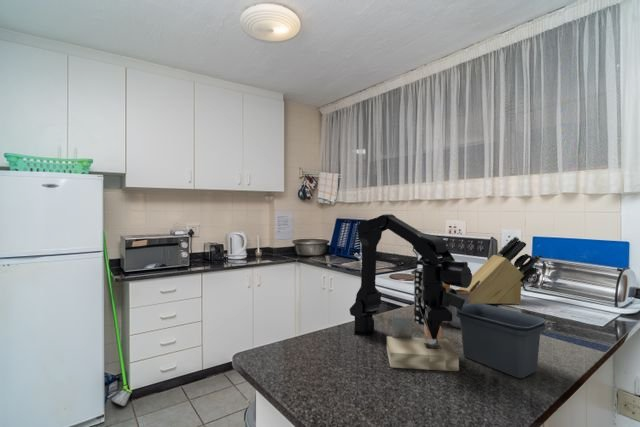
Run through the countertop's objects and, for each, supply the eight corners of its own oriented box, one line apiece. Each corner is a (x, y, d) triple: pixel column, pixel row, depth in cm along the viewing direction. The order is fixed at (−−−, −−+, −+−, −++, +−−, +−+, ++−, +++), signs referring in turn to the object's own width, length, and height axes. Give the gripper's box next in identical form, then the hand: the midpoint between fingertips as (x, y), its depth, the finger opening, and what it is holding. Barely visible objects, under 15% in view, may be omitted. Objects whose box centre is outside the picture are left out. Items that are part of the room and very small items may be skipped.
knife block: (542, 305, 150) (542, 237, 150) (465, 304, 151) (465, 237, 151) (526, 298, 162) (526, 236, 162) (455, 298, 162) (455, 236, 162)
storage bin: (449, 355, 97) (449, 307, 97) (479, 344, 105) (479, 300, 105) (525, 388, 79) (525, 329, 79) (555, 371, 87) (555, 318, 87)
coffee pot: (468, 333, 115) (468, 290, 115) (438, 324, 124) (438, 285, 124) (495, 320, 128) (495, 282, 128) (466, 313, 137) (466, 278, 137)
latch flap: (392, 317, 100) (391, 317, 101) (391, 337, 100) (391, 336, 101) (412, 318, 100) (411, 317, 100) (412, 338, 100) (411, 337, 100)
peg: (426, 350, 92) (426, 326, 92) (424, 344, 96) (424, 322, 96) (441, 351, 92) (441, 327, 92) (438, 345, 96) (438, 322, 96)
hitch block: (390, 367, 90) (390, 352, 89) (386, 349, 101) (386, 336, 101) (458, 371, 87) (458, 356, 87) (446, 352, 99) (446, 339, 99)
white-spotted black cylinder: (425, 326, 122) (425, 273, 122) (409, 320, 129) (409, 269, 129) (441, 323, 125) (441, 271, 125) (425, 317, 133) (425, 267, 133)
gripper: (473, 290, 84) (472, 351, 84) (452, 276, 102) (452, 325, 102) (428, 288, 85) (428, 348, 85) (416, 275, 104) (415, 324, 104)
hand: (432, 335), depth 94 cm, fingers closed on peg, 4 cm apart
